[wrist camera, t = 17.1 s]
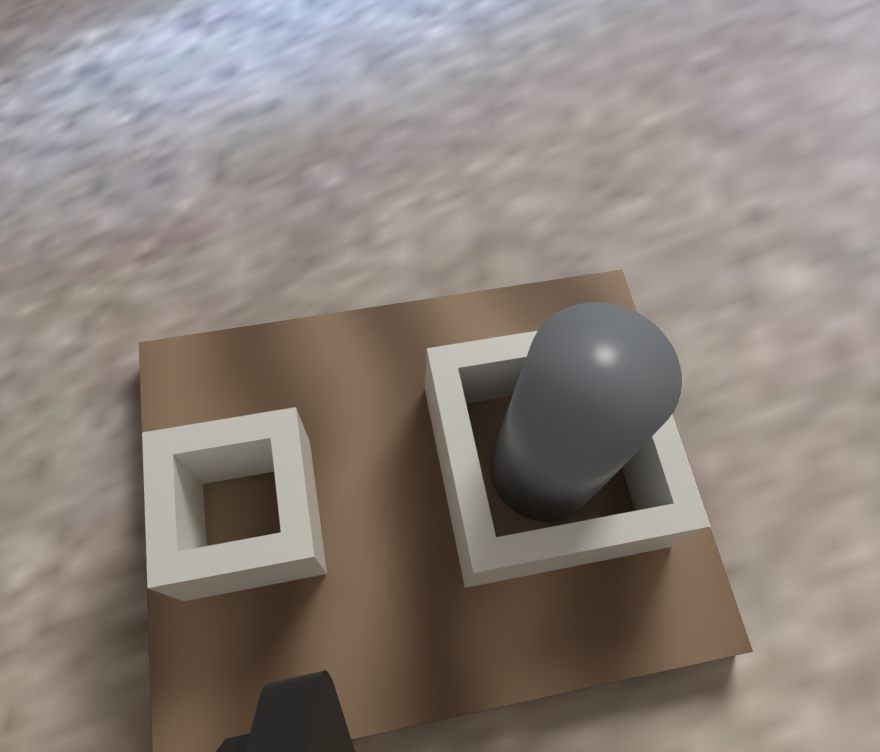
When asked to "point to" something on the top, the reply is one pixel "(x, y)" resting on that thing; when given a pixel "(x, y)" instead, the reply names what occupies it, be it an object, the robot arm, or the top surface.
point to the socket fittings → (480, 552)
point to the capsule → (582, 408)
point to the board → (401, 537)
